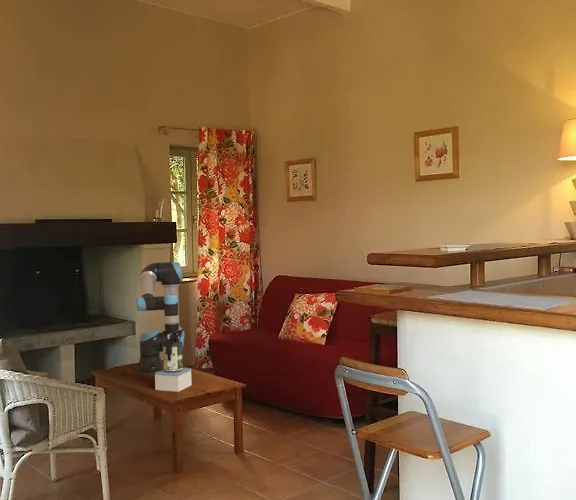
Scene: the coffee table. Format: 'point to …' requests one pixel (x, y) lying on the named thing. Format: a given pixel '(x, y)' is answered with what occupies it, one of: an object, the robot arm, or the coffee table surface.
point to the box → (173, 382)
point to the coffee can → (174, 357)
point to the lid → (173, 372)
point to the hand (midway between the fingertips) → (173, 364)
